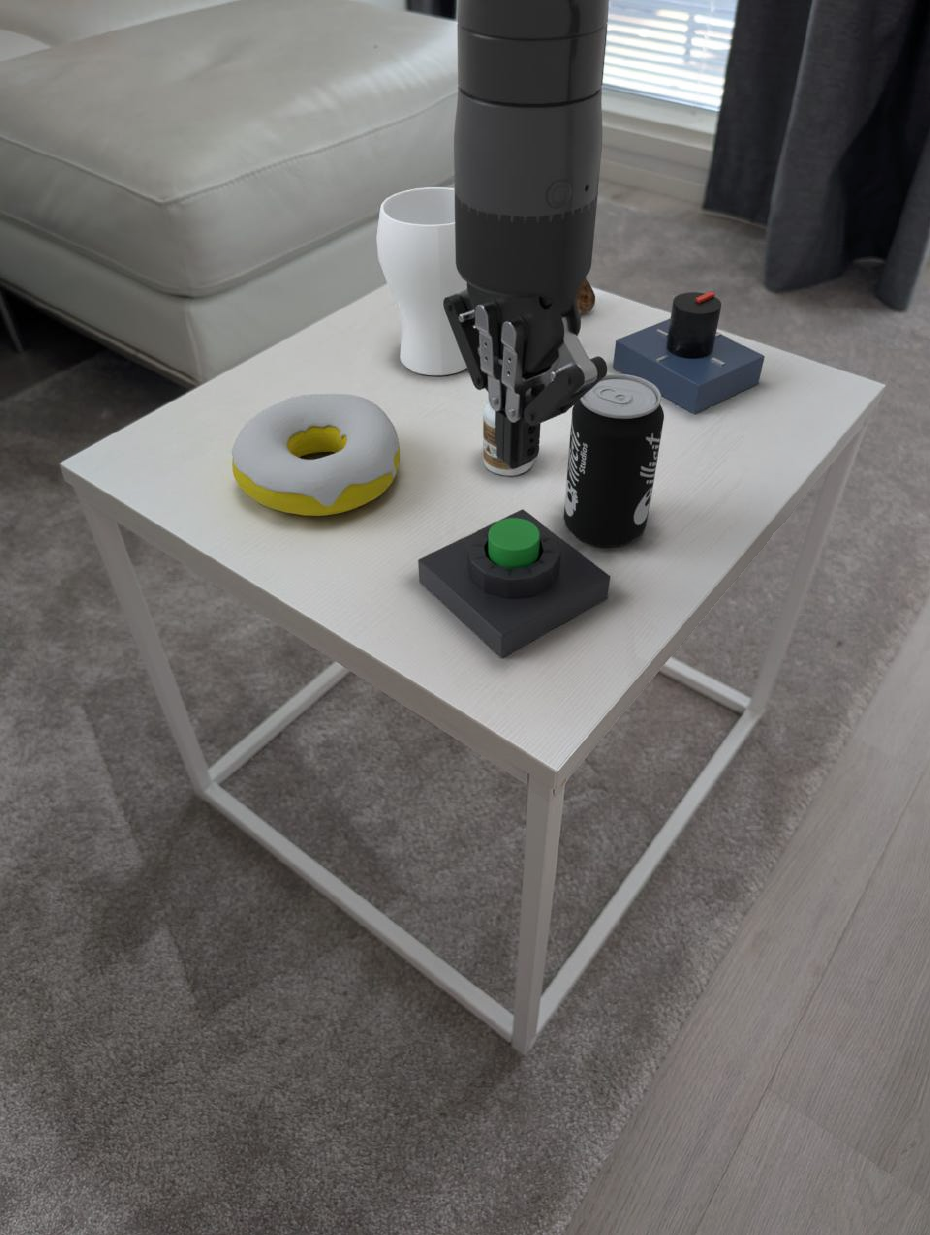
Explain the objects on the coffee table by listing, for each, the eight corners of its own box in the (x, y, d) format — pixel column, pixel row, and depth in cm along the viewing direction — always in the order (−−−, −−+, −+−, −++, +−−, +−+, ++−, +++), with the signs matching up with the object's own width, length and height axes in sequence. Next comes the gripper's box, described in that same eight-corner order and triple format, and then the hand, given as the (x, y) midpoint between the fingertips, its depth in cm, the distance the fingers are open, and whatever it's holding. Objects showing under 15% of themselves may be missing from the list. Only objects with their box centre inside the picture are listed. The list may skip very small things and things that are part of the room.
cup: (496, 335, 96) (497, 186, 85) (482, 387, 88) (482, 231, 78) (397, 329, 97) (387, 182, 87) (376, 380, 90) (362, 225, 79)
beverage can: (618, 564, 69) (638, 429, 61) (547, 532, 72) (555, 398, 64) (660, 521, 73) (683, 388, 65) (590, 492, 76) (604, 361, 68)
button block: (522, 530, 72) (523, 489, 70) (608, 598, 67) (613, 557, 64) (418, 581, 68) (416, 540, 65) (501, 658, 62) (502, 617, 60)
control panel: (612, 367, 91) (615, 338, 89) (675, 341, 94) (680, 312, 92) (694, 414, 84) (699, 384, 82) (758, 383, 88) (765, 354, 86)
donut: (327, 416, 85) (320, 367, 81) (436, 470, 78) (434, 420, 75) (207, 484, 77) (194, 434, 74) (317, 551, 71) (308, 499, 67)
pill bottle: (472, 461, 79) (472, 381, 74) (510, 442, 81) (512, 364, 76) (506, 483, 77) (508, 403, 72) (544, 464, 79) (548, 384, 74)
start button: (517, 530, 67) (518, 511, 66) (549, 555, 65) (550, 536, 63) (478, 549, 65) (478, 530, 64) (509, 576, 63) (510, 557, 62)
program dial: (692, 363, 85) (701, 314, 82) (656, 346, 87) (663, 298, 84) (722, 348, 87) (732, 300, 84) (686, 331, 90) (694, 284, 86)
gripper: (668, 204, 45) (627, 487, 57) (504, 136, 53) (498, 399, 65) (554, 241, 42) (536, 533, 54) (396, 163, 50) (411, 434, 62)
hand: (515, 459), depth 60 cm, fingers closed
